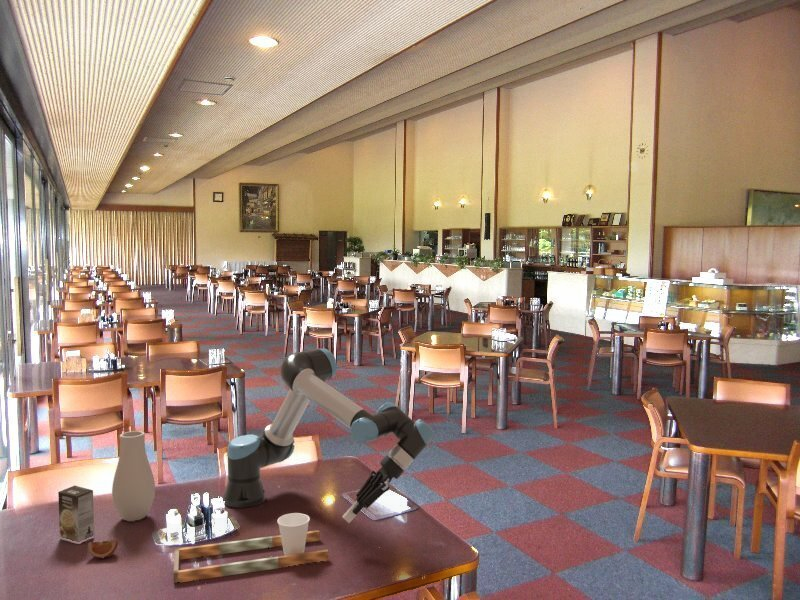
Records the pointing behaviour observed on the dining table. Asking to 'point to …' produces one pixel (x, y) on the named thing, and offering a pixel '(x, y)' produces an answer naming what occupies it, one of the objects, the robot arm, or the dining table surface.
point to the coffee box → (76, 513)
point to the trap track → (244, 565)
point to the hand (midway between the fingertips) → (345, 519)
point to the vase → (133, 478)
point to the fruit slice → (102, 548)
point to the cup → (293, 532)
